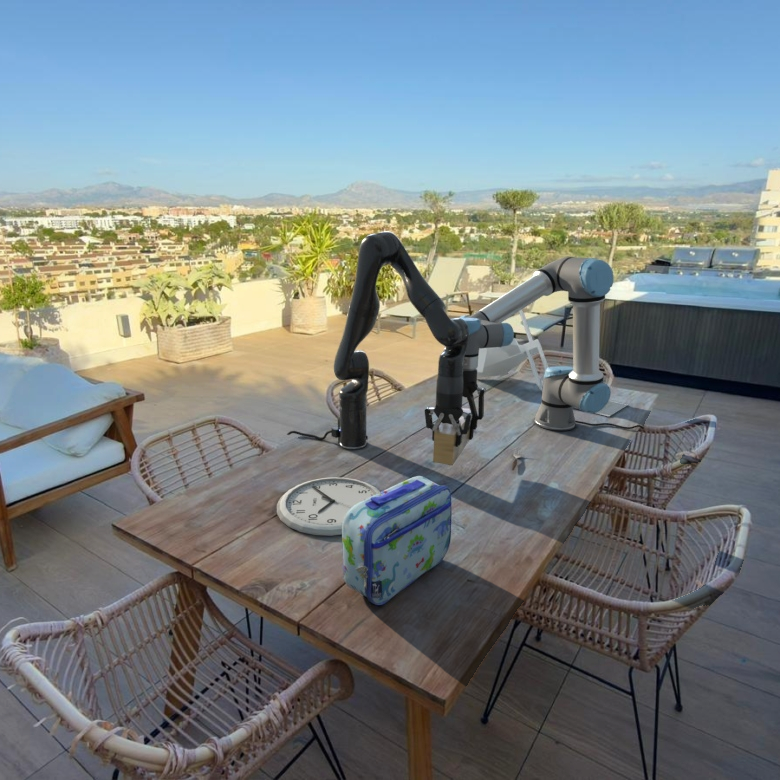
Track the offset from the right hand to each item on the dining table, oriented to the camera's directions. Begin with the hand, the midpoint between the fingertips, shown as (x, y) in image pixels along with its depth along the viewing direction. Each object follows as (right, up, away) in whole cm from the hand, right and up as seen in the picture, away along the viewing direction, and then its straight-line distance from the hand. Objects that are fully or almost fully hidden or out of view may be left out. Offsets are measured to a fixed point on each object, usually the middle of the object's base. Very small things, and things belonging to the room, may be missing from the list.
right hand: (461, 436), depth 170 cm
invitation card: (+68, +8, +56) cm, 89 cm away
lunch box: (-21, -26, -56) cm, 65 cm away
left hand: (-7, -1, -17) cm, 18 cm away
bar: (-3, -3, -8) cm, 9 cm away
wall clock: (-39, -16, -28) cm, 50 cm away
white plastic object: (+34, +17, +85) cm, 93 cm away
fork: (+18, -9, +1) cm, 20 cm away
